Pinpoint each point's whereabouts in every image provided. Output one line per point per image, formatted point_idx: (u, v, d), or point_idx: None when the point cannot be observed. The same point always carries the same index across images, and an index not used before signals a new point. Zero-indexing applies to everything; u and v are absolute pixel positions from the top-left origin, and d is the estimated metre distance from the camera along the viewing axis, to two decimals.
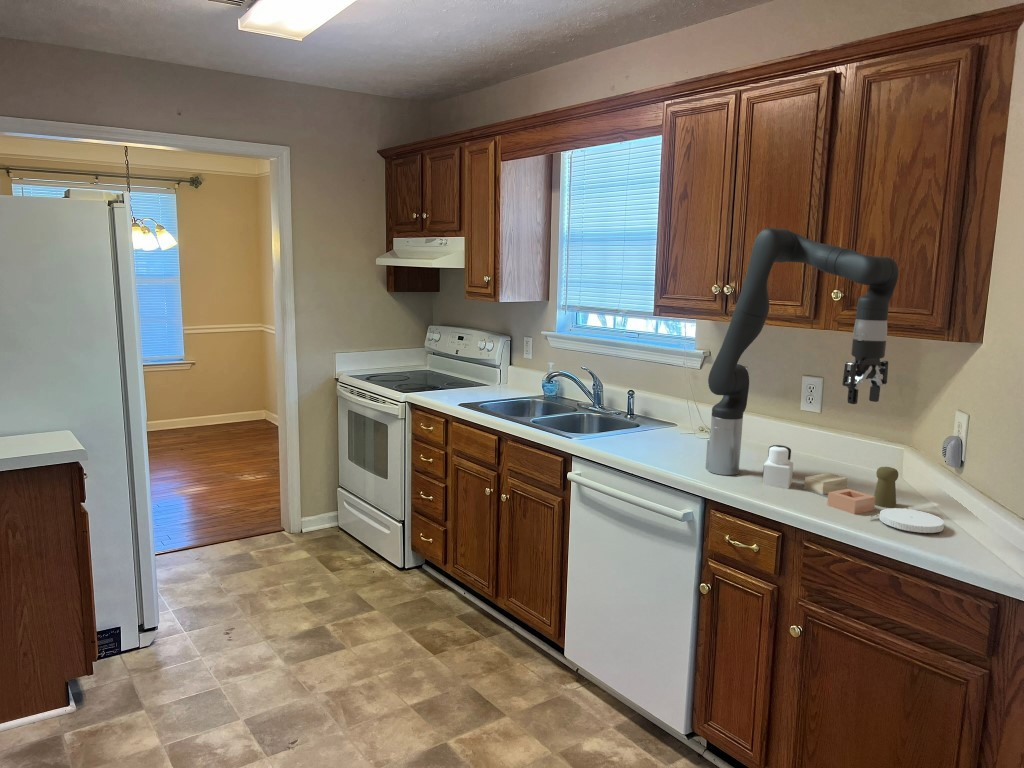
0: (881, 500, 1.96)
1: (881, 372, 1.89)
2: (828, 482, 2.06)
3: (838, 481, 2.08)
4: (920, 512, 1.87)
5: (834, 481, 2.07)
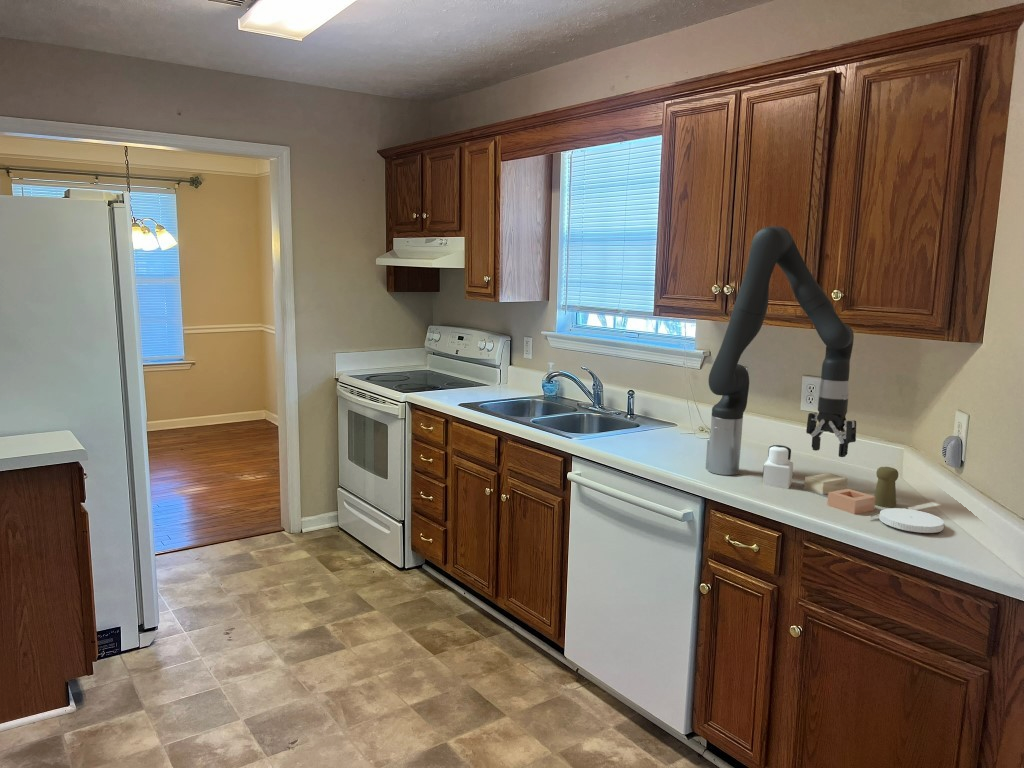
0: (881, 500, 1.96)
1: (814, 423, 2.12)
2: (828, 482, 2.06)
3: (838, 481, 2.08)
4: (920, 512, 1.87)
5: (834, 481, 2.07)
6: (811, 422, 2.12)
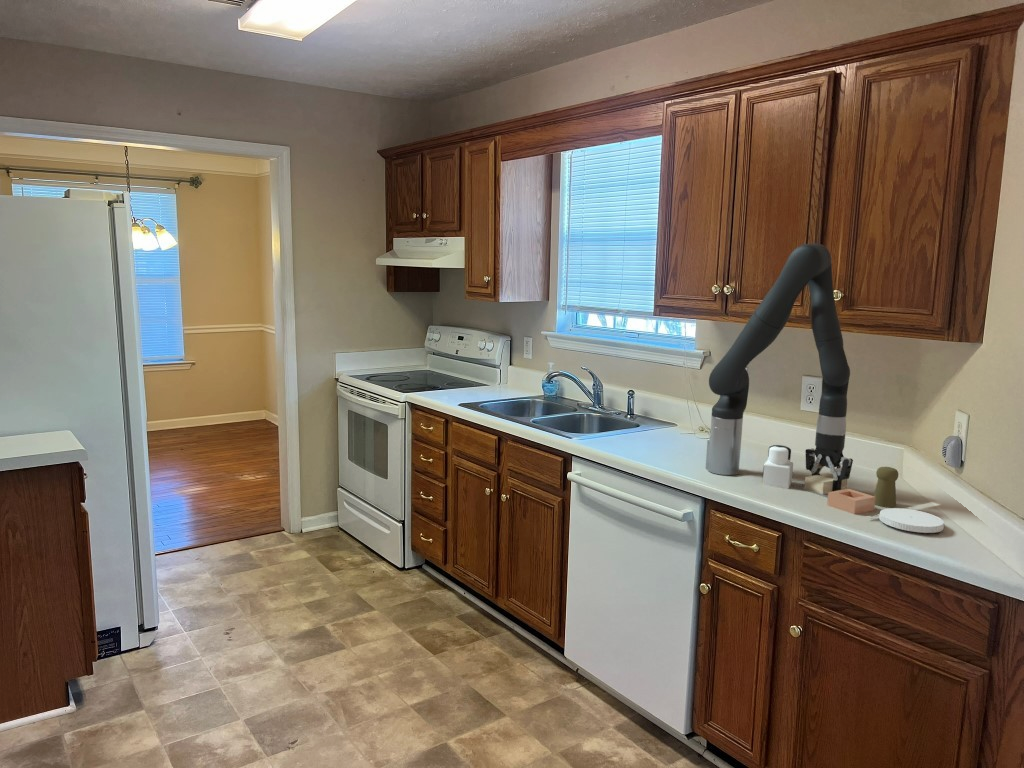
0: (881, 500, 1.96)
1: (812, 459, 2.13)
2: (828, 482, 2.05)
3: None
4: (920, 512, 1.87)
5: None
6: (809, 458, 2.13)
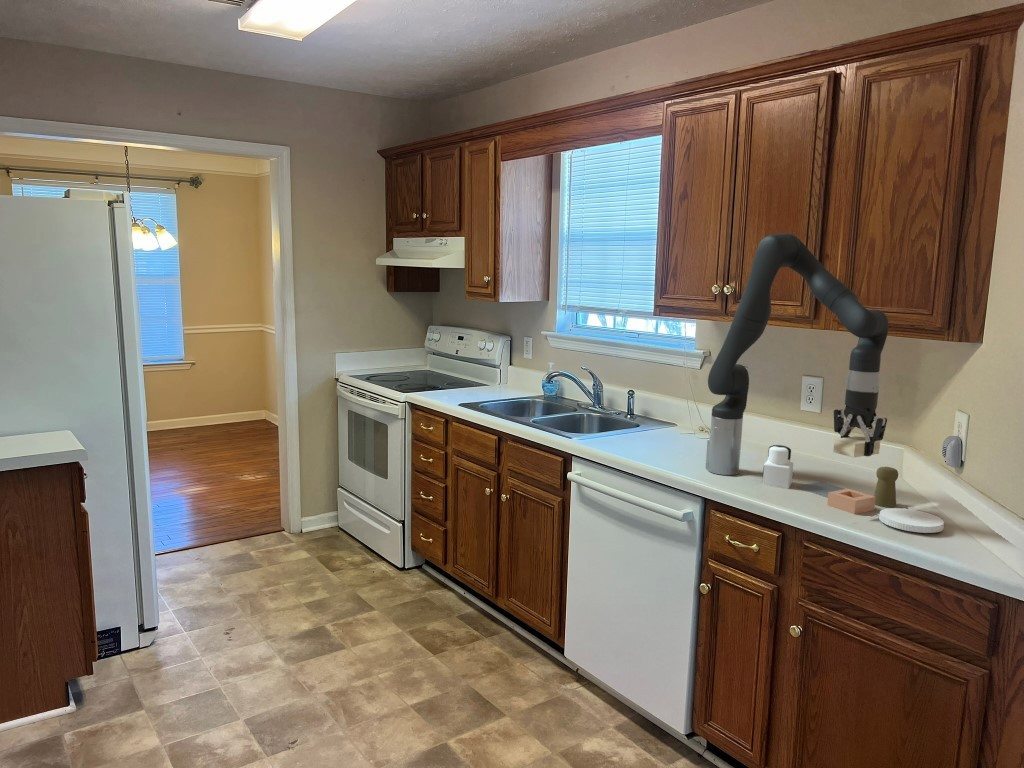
0: (881, 500, 1.96)
1: (841, 420, 1.95)
2: (860, 444, 1.87)
3: None
4: (920, 512, 1.87)
5: None
6: (838, 419, 1.95)
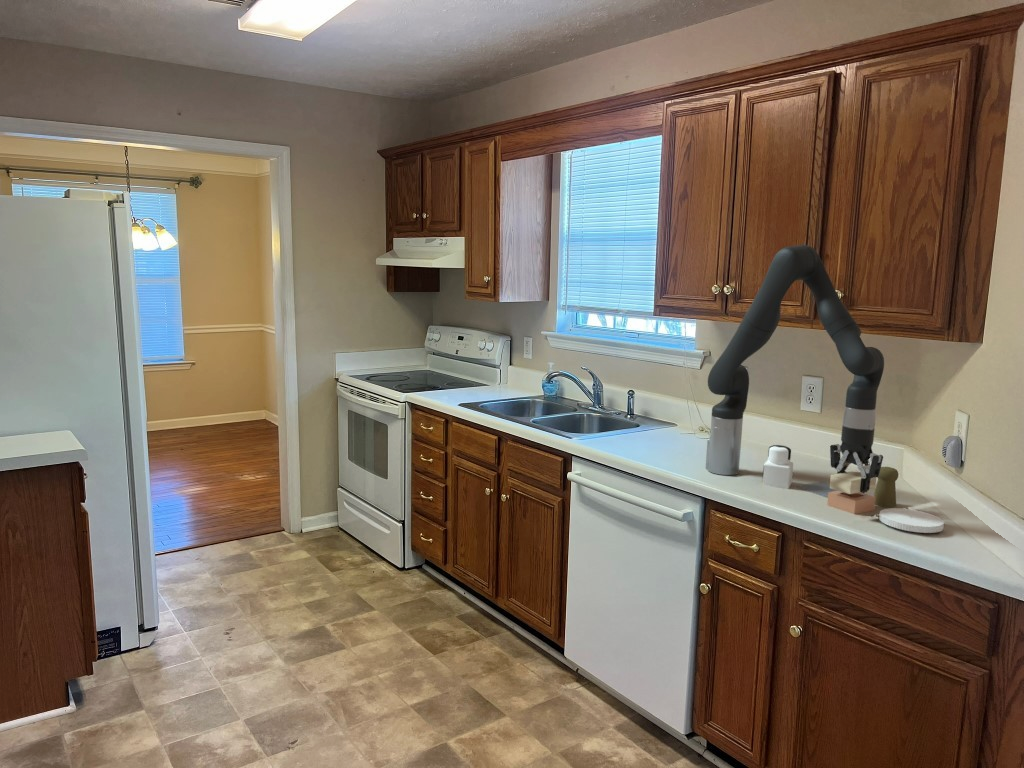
0: (881, 500, 1.96)
1: (838, 455, 1.97)
2: (856, 480, 1.89)
3: None
4: (920, 512, 1.87)
5: None
6: (834, 454, 1.96)
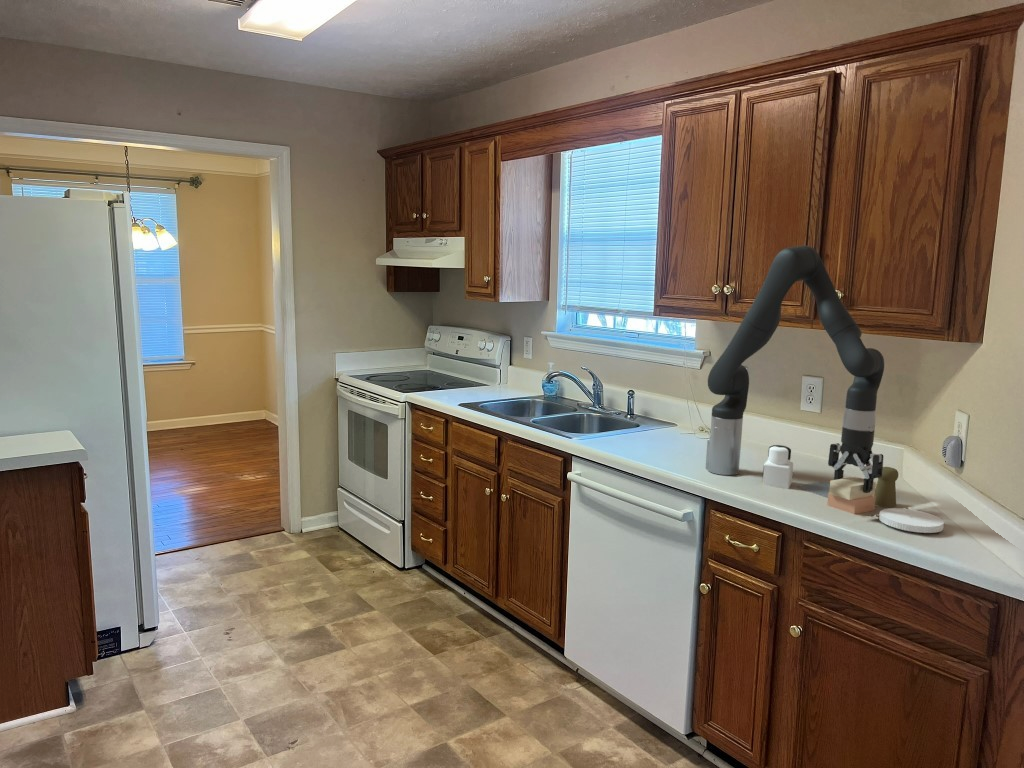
0: (881, 500, 1.96)
1: (836, 455, 1.97)
2: (856, 486, 1.89)
3: None
4: (920, 512, 1.87)
5: (862, 485, 1.90)
6: (833, 454, 1.97)
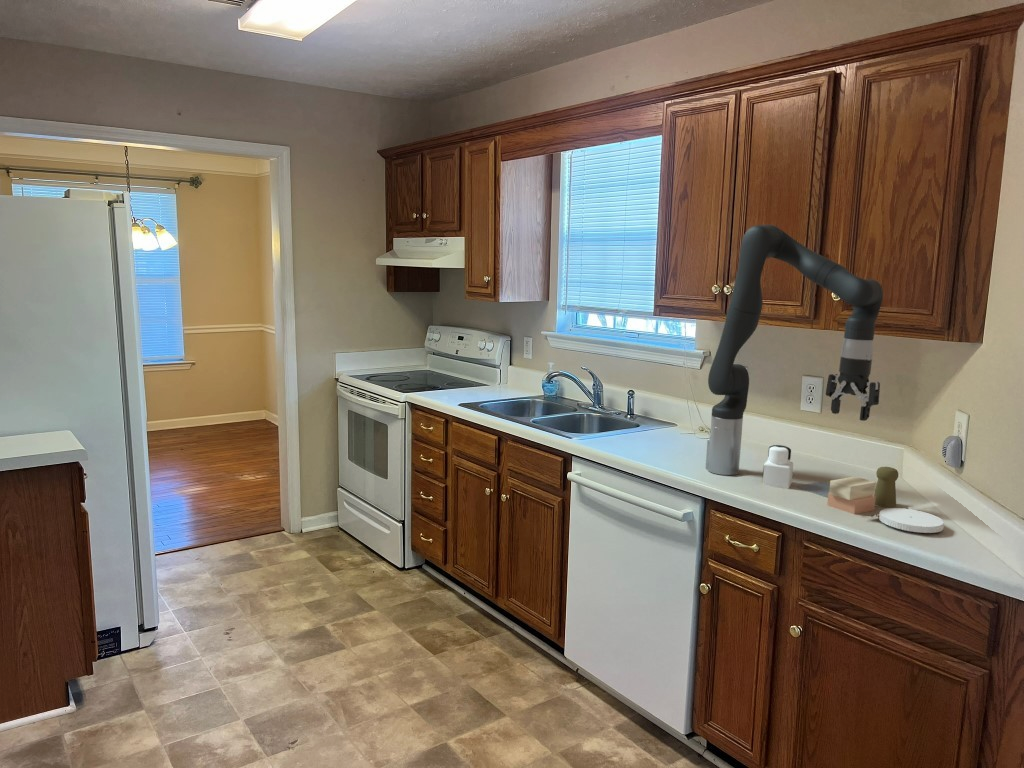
0: (881, 500, 1.96)
1: (834, 385, 2.02)
2: (856, 486, 1.89)
3: (867, 485, 1.91)
4: (920, 512, 1.87)
5: (862, 485, 1.90)
6: (831, 384, 2.01)
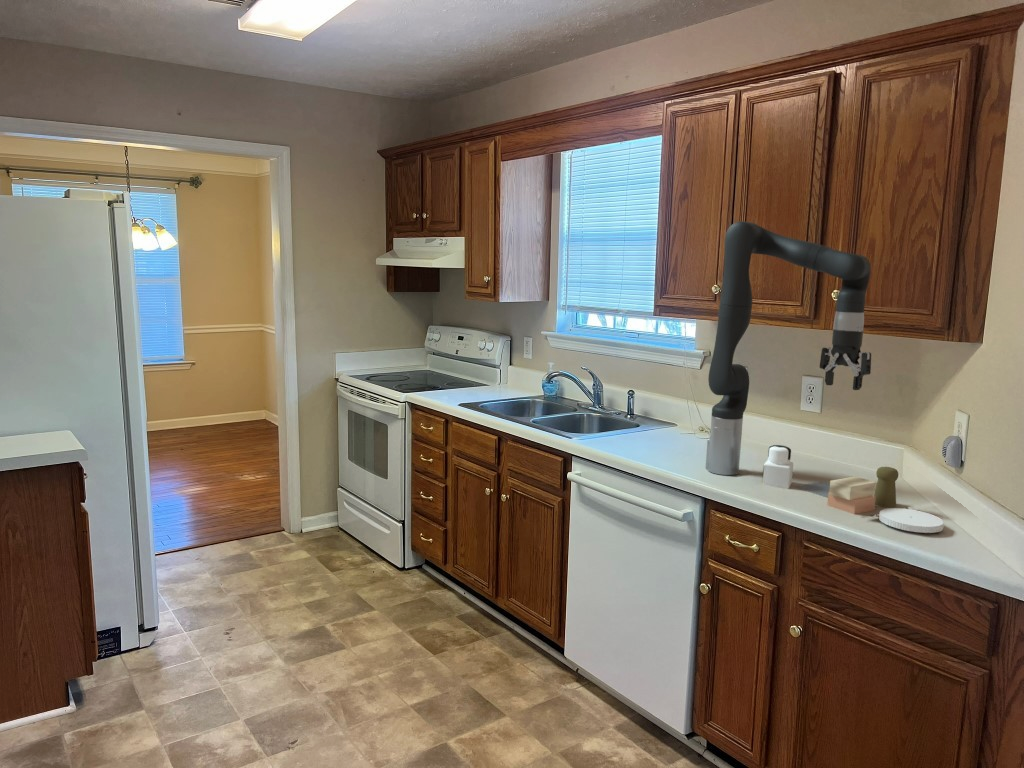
0: (881, 500, 1.96)
1: (827, 358, 2.10)
2: (856, 486, 1.89)
3: (867, 485, 1.91)
4: (920, 512, 1.87)
5: (862, 485, 1.90)
6: (825, 357, 2.09)
